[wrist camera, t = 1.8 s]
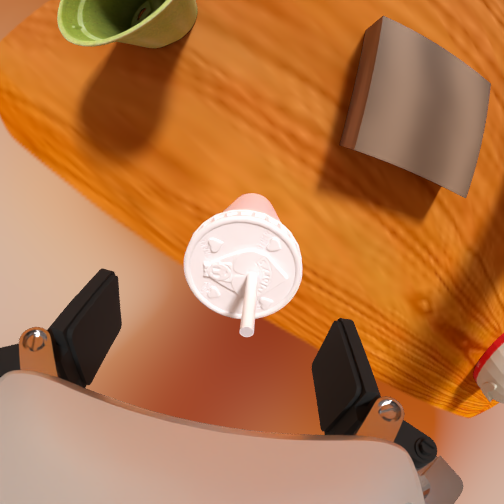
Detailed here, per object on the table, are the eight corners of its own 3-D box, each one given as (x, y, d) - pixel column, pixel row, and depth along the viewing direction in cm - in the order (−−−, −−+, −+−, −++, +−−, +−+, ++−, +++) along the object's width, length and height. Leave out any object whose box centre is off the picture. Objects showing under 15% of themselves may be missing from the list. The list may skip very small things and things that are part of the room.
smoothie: (284, 252, 24) (297, 384, 12) (212, 245, 24) (163, 367, 12) (295, 181, 21) (333, 267, 9) (216, 173, 22) (145, 247, 9)
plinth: (464, 84, 16) (490, 83, 12) (441, 186, 20) (465, 198, 17) (365, 30, 15) (383, 15, 11) (339, 145, 20) (354, 149, 16)
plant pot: (238, -9, 14) (223, -64, 6) (186, 78, 18) (139, 56, 10) (147, -25, 13) (104, -64, 5) (100, 55, 17) (37, 41, 9)
